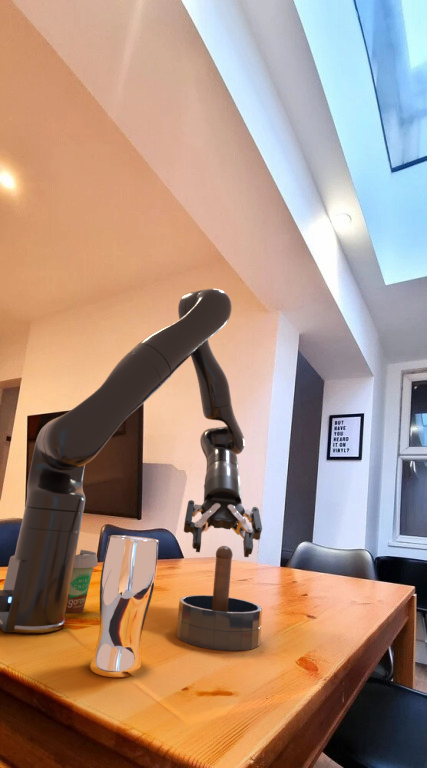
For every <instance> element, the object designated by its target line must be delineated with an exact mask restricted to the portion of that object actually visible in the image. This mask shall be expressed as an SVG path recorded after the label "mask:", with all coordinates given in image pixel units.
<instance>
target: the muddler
mask: <svg viewBox="0 0 427 768" xmlns="http://www.w3.org/2000/svg"><path fill="white" fill-rule="evenodd" d="M233 555H234V553H233V550H232V548H230V547H229V546H227V545H221V546H219V547H218V548H217V549H216V552H215V563H214V564H215V566H214V578H213V589H212V590H213V591H212V596H213V599H212V610H214V611H224V612H228V601H229V597H230V588H231V572H232V560H233Z"/></svg>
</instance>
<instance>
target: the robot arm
mask: <svg viewBox="0 0 427 768" xmlns="http://www.w3.org/2000/svg"><path fill="white" fill-rule="evenodd" d="M177 312H178V313H177V314H178V320H177V321H176V322H174V323H171V324H170V325H168V326H165V327H164V328H162V329H160V330H158V331H156V332H154V333H152V334H151V335H149V336H147V337H146V338H143V340H142V341H140V342H139V343H137V345H135V346H134V347H133V348H132V349H131V350H130V351H129V352H127V353H126V354H125V355H124V356H123V357H122V358H121V359H120V360H119V361H118V362H117V364H116V365H115V367H113V368H112V370H111V372H110V373H109V375H108V376H107V377H106V379H105V381H103V383H102V384H101V386H99V388H97V389H96V391H94V392H93V393H91V394H90V395H89V396H88V397H86V398H85V399H84V400H83V401H82V402H81V403H79V404H78V405H76V406H75V407H74V408H71V410H69V411H68V412H65V413H64V414H62V415H60V416H58V417H56V418H53V419H52V420H50V421H48V422H47V423H46V424H44V426H42V428H41V429H40V431H39V433H38V434H37V437H36V440H35V444H34V449H33V453H32V458H31V462H30V467H29V474H28V479H27V486H26V502H25V507H24V509H23V510H24V511H23V516H22V520H21V525H20V529H19V534H18V538H17V542H16V548H15V552H14V555H11V556H10V557H9V561H8V565H7V571H6V574H5V579H4V584H3V588H2V589H0V629H1V630H2V631H3V632H4V633H19V634H20V633H21V634H45V633H51V632H56V631H59V630H61V629H63V628H64V626H65V622H66V619H65V618H66V617H65V616H66V615H67V614H66V606H67V602H68V603H69V598H70V595H69V590H70V584H71V578H72V573H73V567H74V561H75V556H76V555H77V551H78V544H79V539H80V538H79V537H80V532H81V528H82V521H83V516H84V511H85V506H86V505H85V504H86V495H85V492H84V487H83V482H84V481H83V480H84V473H85V468H86V465H87V464H89V463H91V462H92V461H93V460H94V459H95V458H96V456H97V455H98V454H99V453H100V452H101V451H102V449H103V448H104V447H105V446H106V445H107V443H108V441H110V439H111V438H112V436H113V435H114V434H115V433H116V432H117V430H118V429H119V427H120V426H121V425H123V423H124V421H126V419H127V418H128V417H129V416H131V415H132V414H133V413H134V412H135V411H136V410H138V409H139V408H140V407H141V406H142V405H143V404H144V403H146V401H148V399H150V398H151V397H152V396H153V395H154V394H155V393H156V392H157V391H158V390H159V389H160V388H162V386H163V385H164V384H165V383H166V382H168V380H169V379H170V378H171V377H172V375H174V373H175V372H176V371H177V370H178V369H179V368H180V367H181V366H182V365H183V364H184V363H185V362H186V361H187V360H188V359H189V358H191V361H192V364H193V367H194V371H195V375H196V378H197V384H198V388H199V394H200V401H201V407H202V413H203V416H204V418H205V419H207V420H211V421H219V422H222V423H224V424H225V426H218V427H210V428H206V429H205V430H204V431H203V432H202V433H201V435H200V440H199V441H200V447H201V451H202V453H203V455H204V457H205V460H206V471H205V472H206V473H205V477H204V484H203V503H202V504H196V503H195V501H194V500H192V499H190V500H188V502H187V506H186V513H185V517H184V525H183V532H184V533H186V534H189V533H191V534H192V550H195V552H196V553H201V547H202V534H203V533H204V532H208V531H209V529H210V528H211V527H213V529H225V530H231V529H232V531H233V532H234V533H235V534H236V535H237V536H240V537H241V538H242V543H243V557H244V558H249V557H250V555H252V553H253V549H254V540H255V541H259V540H261V535H262V531H263V525H262V519H261V515H260V509H259V508H258V507H257V506H252V509H245V508H244V506H243V504H242V503H243V502H242V488H241V487H242V486H241V485H242V484H241V477H240V472H239V460H238V456H237V455H240V454H241V453H242V452H243V451H244V448H245V443H246V442H245V440H246V439H245V437H244V434H243V431H242V429H241V427H240V425H239V423H238V420H237V418H236V416H235V413H234V408H233V403H232V398H231V390H230V384H229V381H228V378H227V376H226V373H225V372H224V369H223V368H222V366H221V365H220V364H219V361H218V360H217V359H216V357H215V355H214V353H213V350H212V348H211V345H210V343H209V339H211V338H212V337H213V336H214V335H215V334H217V333H218V332H219V331H220V330H221V329H223V328H224V327H225V326H226V325H227V323H228V322H229V319H230V318H231V314H232V301H231V298H230V296H229V295H228V294H227V293H226V292H224V290H222V289H219V288H206V289H200V290H196V291H190V292H188V293H186V294H183V295H182V296H181V298H180V300H179V302H178V306H177ZM198 513H200V514H201V517H200V518H199V519H198V520H196V521H195V522H194V521H193V518H195V517H196V516H197V515H198ZM246 518H247V520H248V522H249V523H250V524H251V526H250V525H249V524H248V523H247V520H246Z"/></svg>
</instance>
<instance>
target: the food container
mask: <svg viewBox="0 0 427 768" xmlns="http://www.w3.org/2000/svg"><path fill="white" fill-rule="evenodd" d="M98 566H99V565H98V556H97V552H95V551H91V550H85V549H80V552H79V554H76V556H75V561H74V567H73V573H72V578H71V584H70V590H69V595H70V598H69V603H68V602H67V606H66V614H65V615H73V614H83V613H84V610H85V605H86V601H87V597H88V593H89V588H90V584H91V581H92V576H93V572H94V568H96V567H98Z"/></svg>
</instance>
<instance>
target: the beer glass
mask: <svg viewBox="0 0 427 768" xmlns="http://www.w3.org/2000/svg"><path fill="white" fill-rule="evenodd" d="M159 542H160V540H159V539H156V538H152V537H144V536H135V535H134V536H133V535H121V534H119V535H117V534H112V535H111V534H110V535H108V539H107V544H106V548H105V553H104V556H103V562H102V566H101V573H100V581H99V627H98V636H97V642H96V646H95V650H94V652H93V655H92V658H91V662H90V666H89V669H90V671H91V672H93V673H94V674H96V675H99V676H102V677H106V678H128V677H133V674H132V673H130V672H133V671H137V670H138V669H140V668H141V666H142V653H141V652H142V651H141V648H142V647H141V646H142V637H143V630H144V626H145V622H146V619H147V616H148V611H149V607H150V604H151V602H152V599H153V598H152V597H153V593H154V589H155V584H156V578H157V572H158V571H157V569H158V556H159Z"/></svg>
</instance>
